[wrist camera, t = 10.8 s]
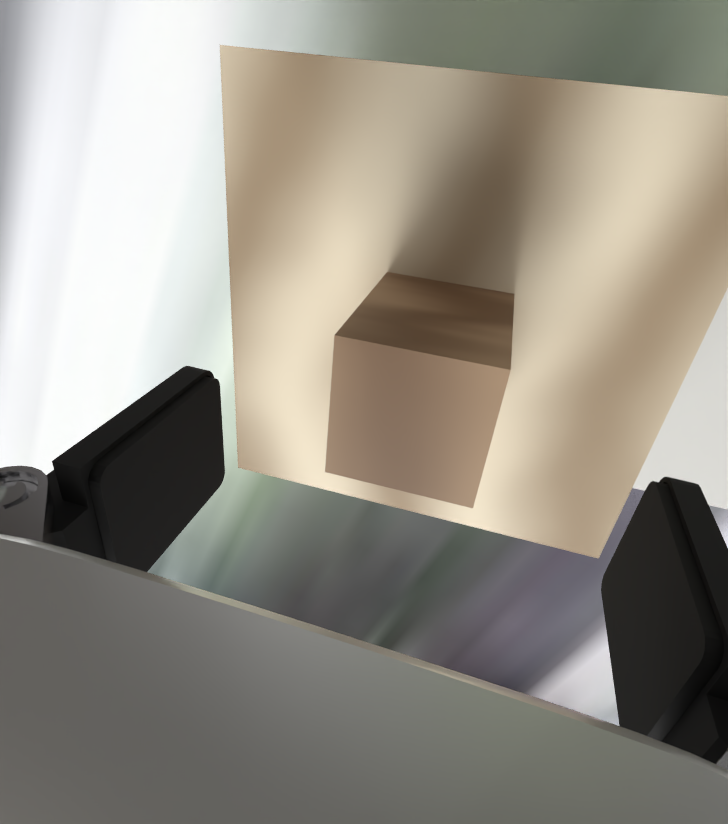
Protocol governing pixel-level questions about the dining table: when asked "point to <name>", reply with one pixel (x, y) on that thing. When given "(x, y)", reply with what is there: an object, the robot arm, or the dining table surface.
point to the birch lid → (466, 282)
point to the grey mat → (697, 422)
